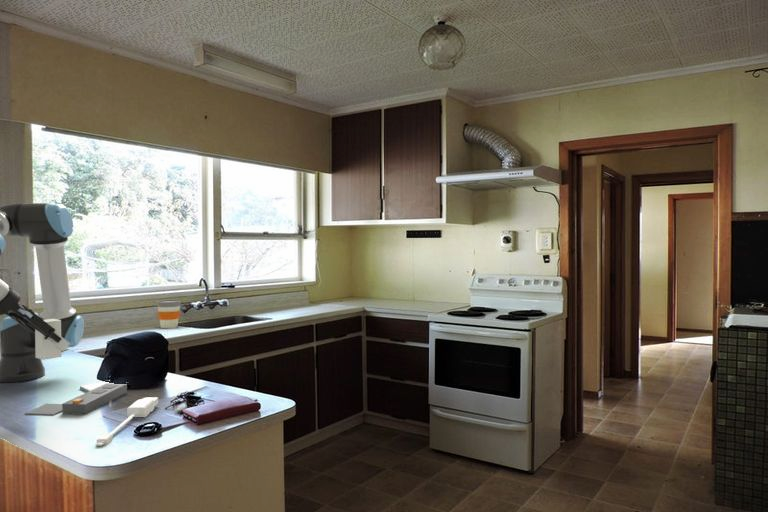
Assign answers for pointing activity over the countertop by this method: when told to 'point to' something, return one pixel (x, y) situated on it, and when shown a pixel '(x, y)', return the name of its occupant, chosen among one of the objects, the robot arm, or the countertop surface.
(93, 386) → the external hard drive
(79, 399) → the strip
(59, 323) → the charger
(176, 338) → the countertop surface
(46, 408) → the mat
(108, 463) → the countertop surface
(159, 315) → the reusable coffee cup
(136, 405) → the charging cable
